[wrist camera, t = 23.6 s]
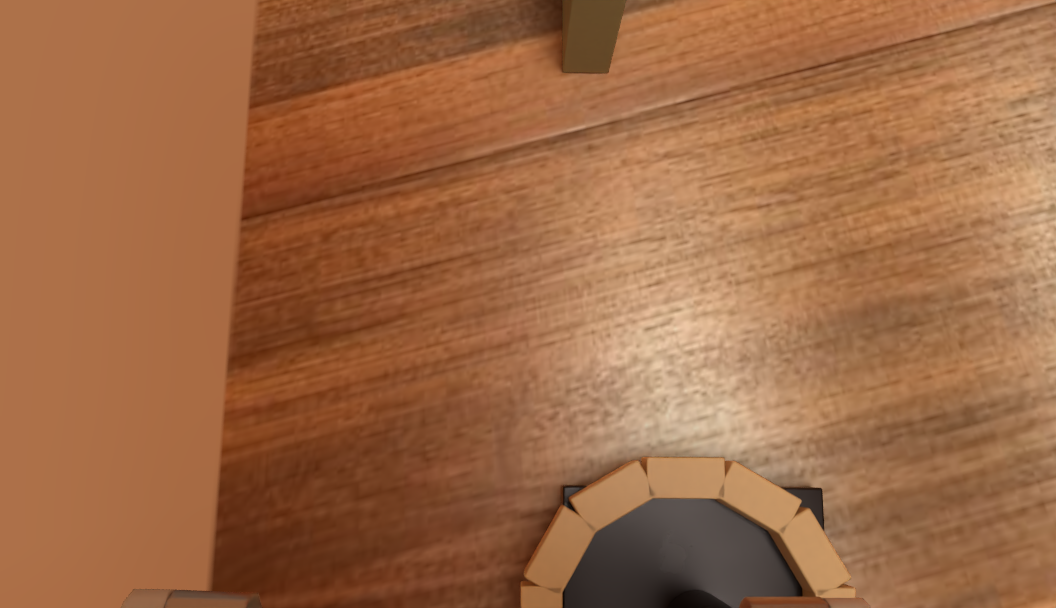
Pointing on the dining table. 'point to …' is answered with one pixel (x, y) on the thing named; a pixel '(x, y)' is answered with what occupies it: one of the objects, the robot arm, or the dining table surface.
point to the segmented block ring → (683, 480)
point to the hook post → (682, 557)
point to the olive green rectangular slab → (589, 34)
